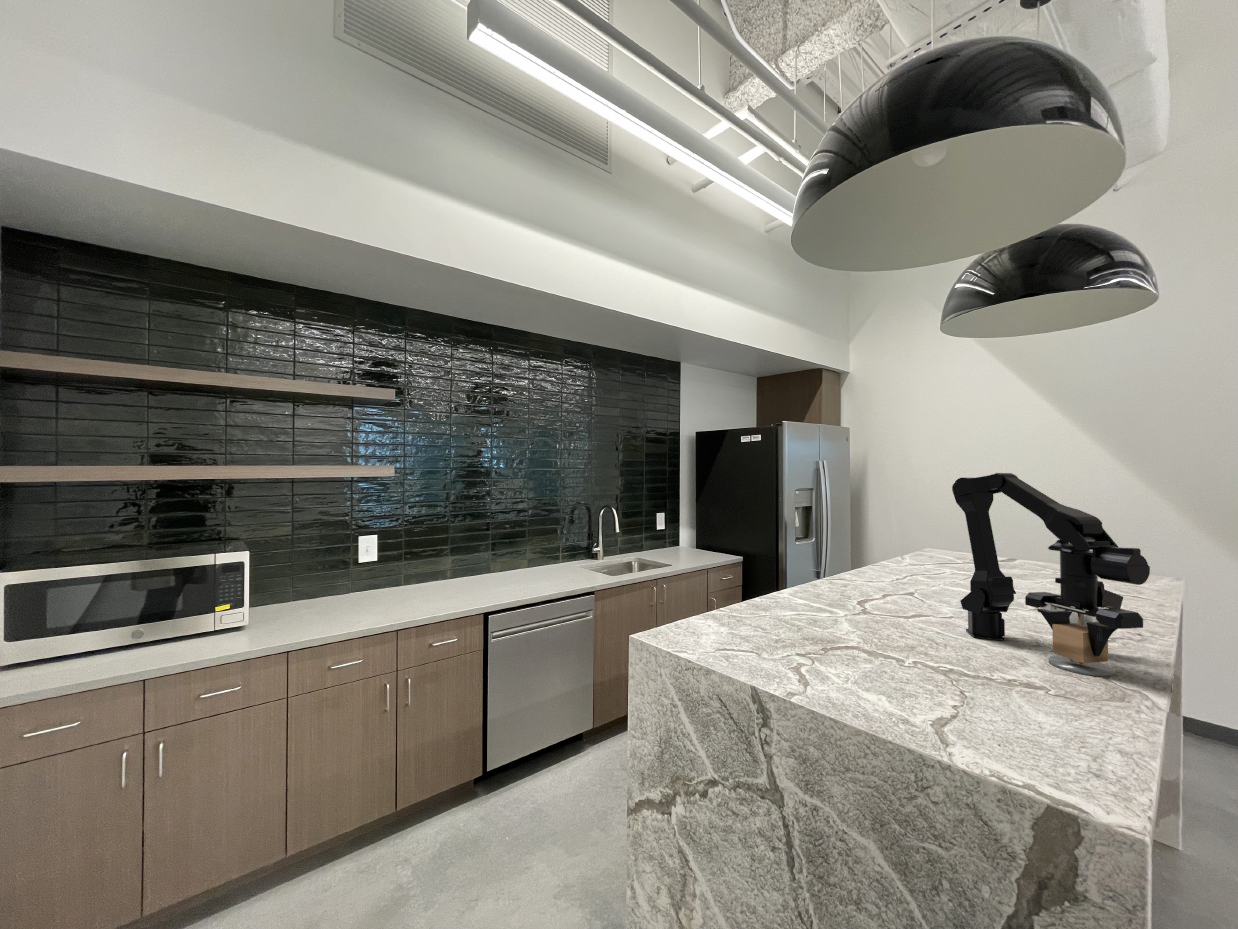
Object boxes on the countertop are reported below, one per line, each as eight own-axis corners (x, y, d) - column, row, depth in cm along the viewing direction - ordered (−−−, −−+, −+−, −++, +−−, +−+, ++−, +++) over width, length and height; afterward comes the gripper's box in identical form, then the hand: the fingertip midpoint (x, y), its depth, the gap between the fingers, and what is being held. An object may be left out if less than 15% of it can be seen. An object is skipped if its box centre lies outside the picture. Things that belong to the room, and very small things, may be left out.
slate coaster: (1063, 672, 100) (1063, 669, 100) (1039, 656, 109) (1039, 653, 109) (1127, 679, 96) (1126, 676, 96) (1096, 662, 106) (1096, 659, 106)
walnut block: (1083, 663, 99) (1082, 632, 100) (1052, 652, 105) (1052, 624, 105) (1108, 661, 100) (1107, 631, 101) (1076, 651, 106) (1076, 623, 106)
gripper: (1165, 583, 95) (1167, 665, 95) (1064, 566, 114) (1065, 635, 113) (1118, 584, 94) (1119, 668, 93) (1022, 567, 112) (1023, 637, 112)
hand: (1079, 650), depth 103 cm, fingers closed on walnut block, 6 cm apart
